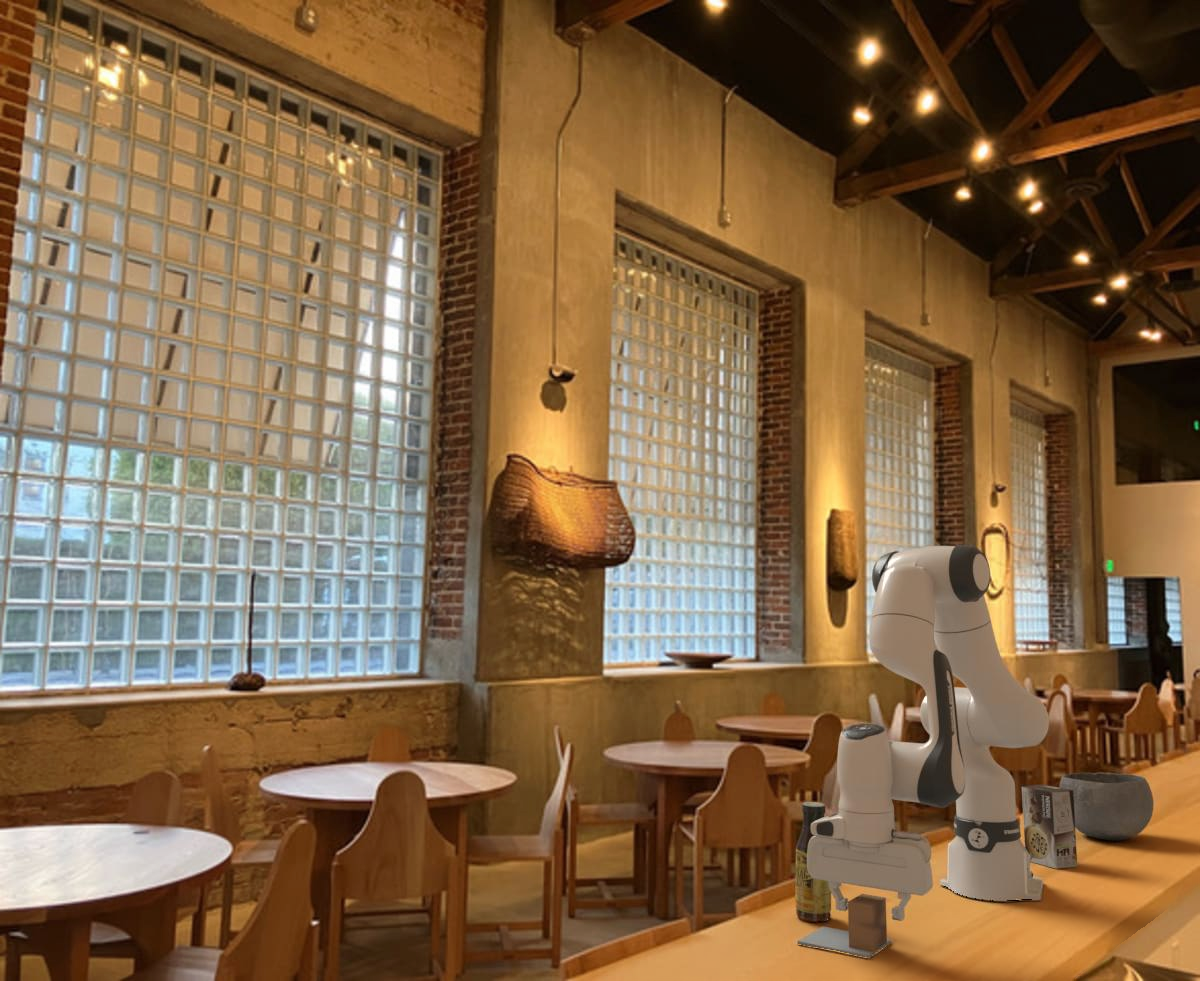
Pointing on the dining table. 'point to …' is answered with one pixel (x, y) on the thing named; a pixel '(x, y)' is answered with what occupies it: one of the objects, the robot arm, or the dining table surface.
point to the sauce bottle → (809, 891)
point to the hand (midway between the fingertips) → (869, 914)
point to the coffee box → (1049, 825)
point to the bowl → (1110, 804)
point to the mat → (835, 941)
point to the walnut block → (867, 922)
